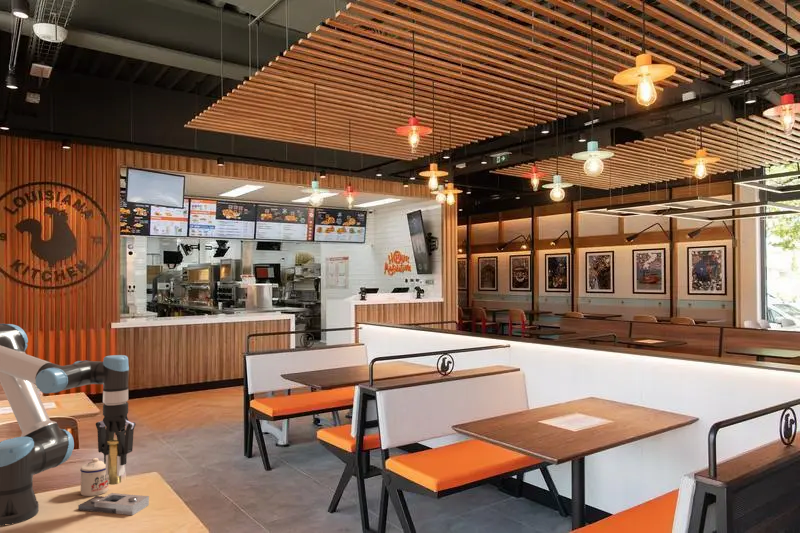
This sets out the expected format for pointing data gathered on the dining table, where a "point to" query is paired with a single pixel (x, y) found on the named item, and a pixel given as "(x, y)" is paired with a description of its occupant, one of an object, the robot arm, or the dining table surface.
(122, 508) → the block
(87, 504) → the lower chain end
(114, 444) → the brass pin
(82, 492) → the teacup with lid
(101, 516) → the dining table surface
